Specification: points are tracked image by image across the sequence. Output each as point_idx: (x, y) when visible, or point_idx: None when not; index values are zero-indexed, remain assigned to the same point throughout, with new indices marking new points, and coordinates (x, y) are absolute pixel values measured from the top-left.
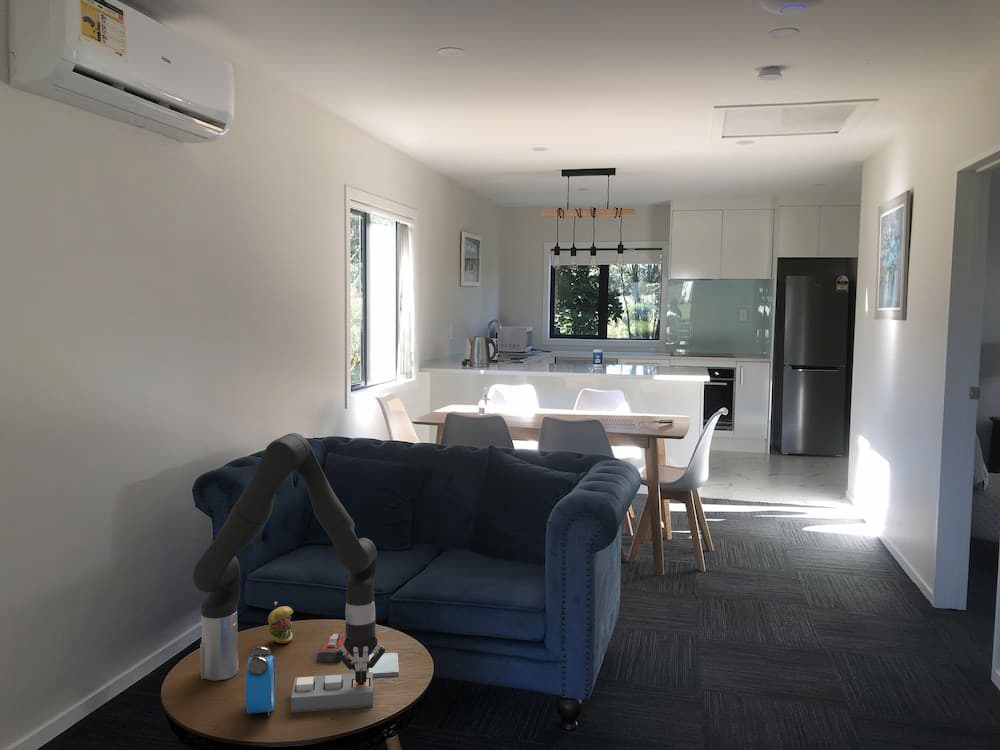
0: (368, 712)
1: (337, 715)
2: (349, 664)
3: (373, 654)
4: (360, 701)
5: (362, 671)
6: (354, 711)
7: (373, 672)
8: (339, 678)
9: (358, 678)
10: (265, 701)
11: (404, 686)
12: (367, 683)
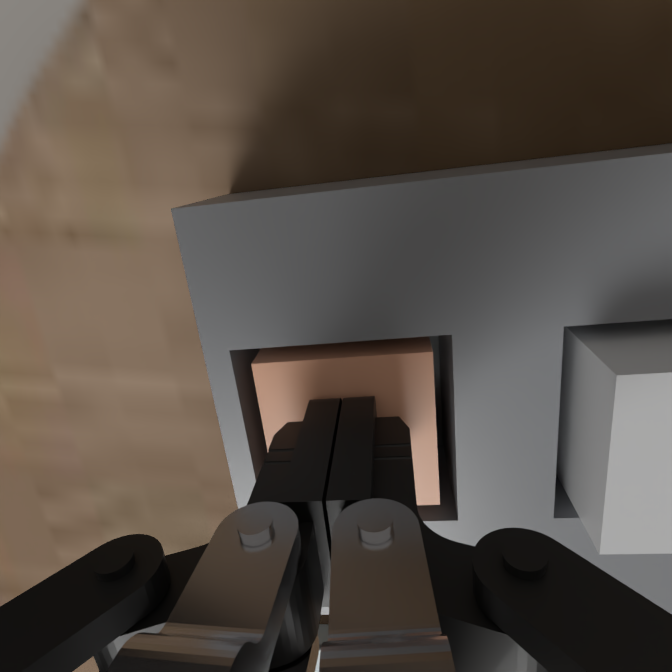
0: (252, 77)
1: (567, 14)
2: (567, 620)
3: None
4: (335, 184)
5: (298, 500)
6: (392, 102)
7: None
8: (631, 470)
9: (368, 434)
10: None
11: (60, 490)
12: (277, 421)
